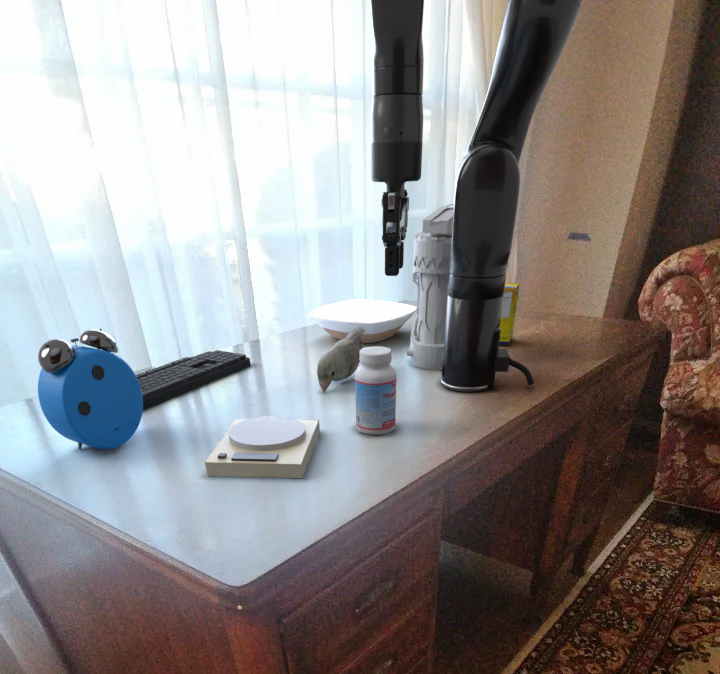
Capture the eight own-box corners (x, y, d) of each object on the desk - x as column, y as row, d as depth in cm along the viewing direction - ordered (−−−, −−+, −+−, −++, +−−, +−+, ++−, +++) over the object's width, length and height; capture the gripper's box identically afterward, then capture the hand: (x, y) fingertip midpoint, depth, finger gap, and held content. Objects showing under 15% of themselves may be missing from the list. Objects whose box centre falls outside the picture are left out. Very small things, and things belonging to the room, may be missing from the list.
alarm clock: (128, 426, 92) (98, 321, 82) (155, 433, 89) (127, 326, 79) (57, 455, 83) (14, 343, 73) (85, 464, 81) (44, 349, 71)
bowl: (353, 320, 144) (353, 296, 140) (428, 331, 134) (429, 306, 130) (297, 339, 130) (295, 313, 127) (375, 353, 121) (375, 325, 117)
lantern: (449, 373, 110) (462, 210, 93) (400, 366, 114) (405, 209, 97) (474, 356, 118) (490, 204, 102) (428, 350, 122) (436, 203, 106)
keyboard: (210, 357, 121) (208, 347, 119) (252, 365, 116) (250, 354, 115) (69, 410, 98) (65, 398, 97) (114, 421, 93) (111, 409, 92)
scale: (319, 432, 88) (318, 414, 86) (302, 478, 76) (300, 458, 74) (237, 431, 89) (234, 413, 87) (207, 476, 77) (203, 456, 75)
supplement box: (512, 339, 127) (520, 282, 120) (508, 346, 123) (516, 287, 116) (485, 337, 129) (492, 281, 122) (481, 344, 125) (487, 286, 117)
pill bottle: (391, 437, 86) (393, 357, 79) (352, 435, 87) (350, 355, 80) (398, 422, 91) (400, 345, 83) (360, 420, 92) (359, 344, 84)
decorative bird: (309, 391, 103) (306, 346, 98) (348, 366, 114) (347, 324, 109) (335, 395, 101) (333, 348, 96) (373, 369, 112) (373, 327, 107)
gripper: (419, 136, 77) (414, 278, 87) (424, 140, 87) (419, 266, 98) (364, 138, 78) (365, 278, 88) (376, 142, 88) (376, 266, 99)
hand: (394, 271), depth 93 cm, fingers open, 8 cm apart
